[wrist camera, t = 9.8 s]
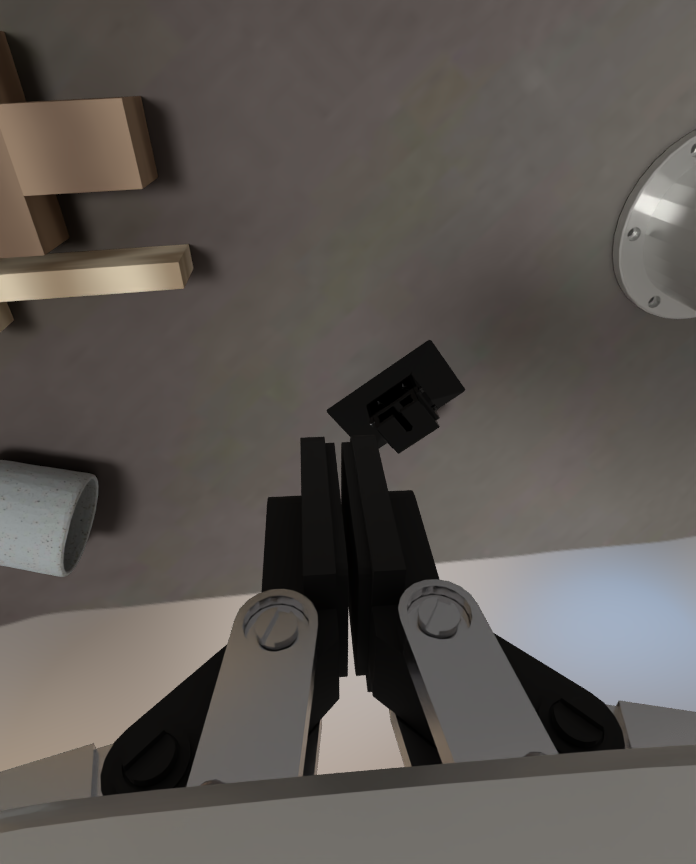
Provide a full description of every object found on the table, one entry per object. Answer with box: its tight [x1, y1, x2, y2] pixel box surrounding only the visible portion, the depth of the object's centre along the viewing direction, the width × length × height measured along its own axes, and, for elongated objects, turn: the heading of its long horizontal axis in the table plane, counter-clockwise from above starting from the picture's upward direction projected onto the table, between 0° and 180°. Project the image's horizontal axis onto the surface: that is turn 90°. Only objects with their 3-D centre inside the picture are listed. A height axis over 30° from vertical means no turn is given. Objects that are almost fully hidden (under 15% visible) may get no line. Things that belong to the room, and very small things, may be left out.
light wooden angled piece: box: [0, 244, 193, 332], centre depth 29 cm, size 14×16×4 cm
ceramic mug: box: [0, 460, 98, 577], centre depth 40 cm, size 11×8×8 cm
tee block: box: [0, 31, 158, 258], centre depth 28 cm, size 10×10×4 cm
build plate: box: [327, 340, 465, 454], centre depth 40 cm, size 12×7×5 cm, turn 126°
